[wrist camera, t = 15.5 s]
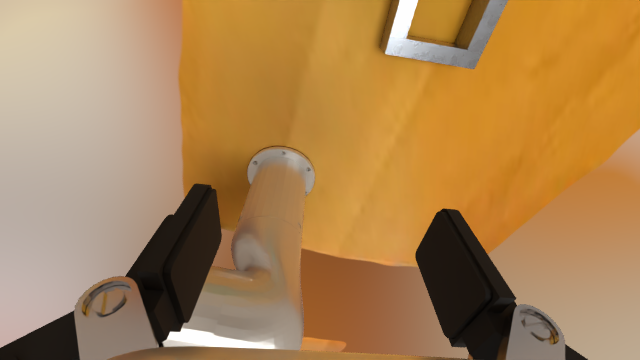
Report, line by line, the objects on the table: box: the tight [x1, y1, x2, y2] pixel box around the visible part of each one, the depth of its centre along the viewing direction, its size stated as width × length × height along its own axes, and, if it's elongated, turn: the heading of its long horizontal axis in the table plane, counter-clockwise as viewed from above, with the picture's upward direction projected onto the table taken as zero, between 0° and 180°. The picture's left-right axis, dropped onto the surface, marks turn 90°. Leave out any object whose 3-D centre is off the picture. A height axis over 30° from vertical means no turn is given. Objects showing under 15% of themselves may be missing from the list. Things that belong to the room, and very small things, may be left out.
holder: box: [380, 0, 508, 69], centre depth 31 cm, size 12×12×4 cm
